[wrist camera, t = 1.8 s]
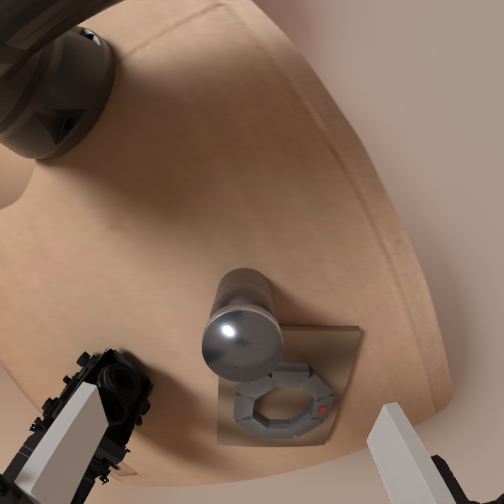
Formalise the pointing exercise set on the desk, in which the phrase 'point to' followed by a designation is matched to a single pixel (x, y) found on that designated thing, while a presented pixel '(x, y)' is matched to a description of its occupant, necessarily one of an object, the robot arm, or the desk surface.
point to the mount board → (291, 391)
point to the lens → (243, 328)
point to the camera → (115, 407)
